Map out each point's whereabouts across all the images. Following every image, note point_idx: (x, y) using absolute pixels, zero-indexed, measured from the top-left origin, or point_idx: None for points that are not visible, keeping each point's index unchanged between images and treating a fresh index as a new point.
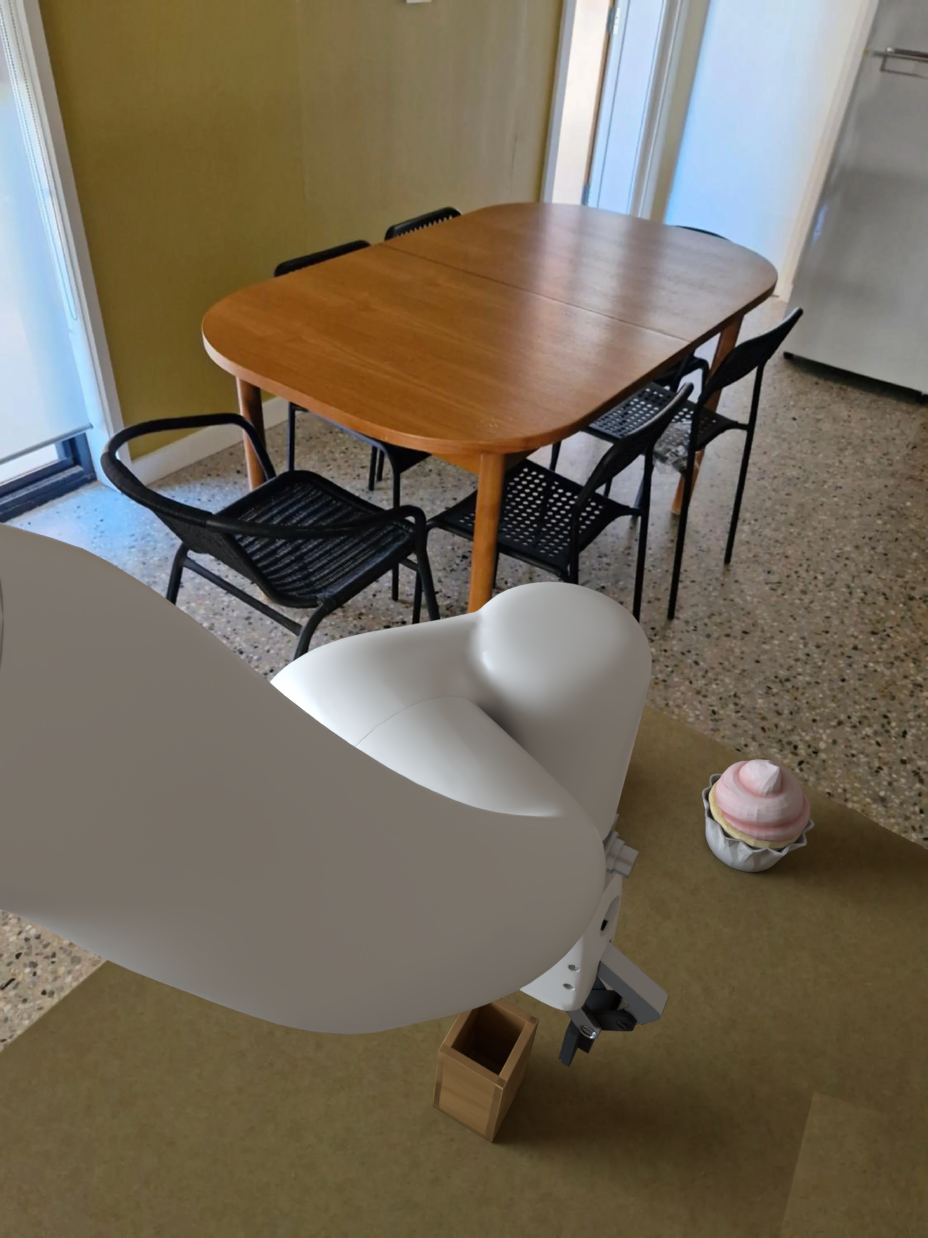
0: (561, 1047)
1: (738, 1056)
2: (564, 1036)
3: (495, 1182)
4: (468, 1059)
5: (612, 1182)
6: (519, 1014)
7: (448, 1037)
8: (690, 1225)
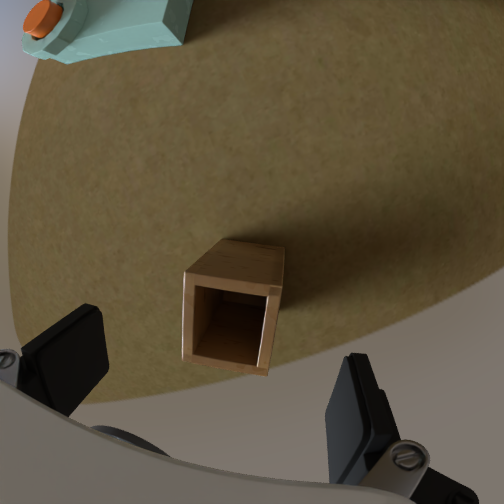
0: (327, 445)
1: (459, 154)
2: (329, 472)
3: (287, 335)
4: (216, 360)
5: (379, 300)
6: (254, 292)
7: (184, 346)
8: (434, 303)
